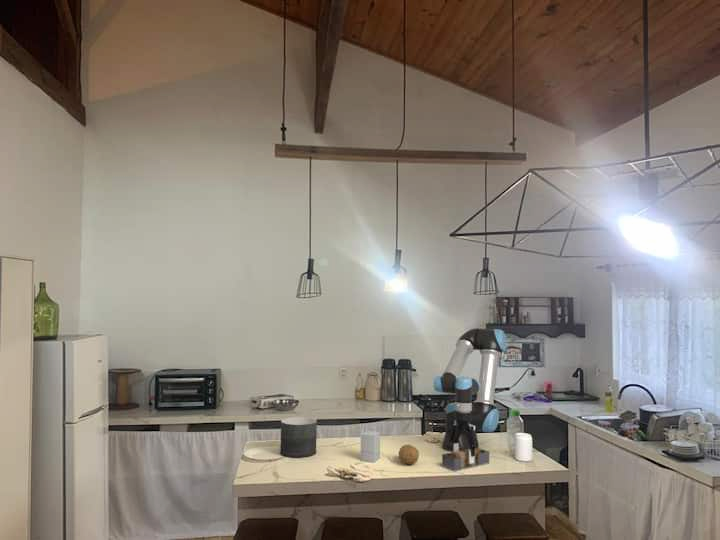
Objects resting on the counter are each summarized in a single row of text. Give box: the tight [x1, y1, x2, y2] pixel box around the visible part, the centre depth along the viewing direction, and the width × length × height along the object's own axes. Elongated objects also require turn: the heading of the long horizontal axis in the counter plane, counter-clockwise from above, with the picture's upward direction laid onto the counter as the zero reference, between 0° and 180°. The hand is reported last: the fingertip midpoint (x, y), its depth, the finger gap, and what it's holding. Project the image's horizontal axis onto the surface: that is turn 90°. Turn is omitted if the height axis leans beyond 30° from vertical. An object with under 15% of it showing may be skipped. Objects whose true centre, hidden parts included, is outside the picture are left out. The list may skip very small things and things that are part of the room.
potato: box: [398, 444, 420, 465], centre depth 249 cm, size 10×14×8 cm
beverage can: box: [514, 432, 533, 463], centre depth 256 cm, size 8×8×12 cm
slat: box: [449, 448, 482, 467], centre depth 246 cm, size 16×4×6 cm, turn 124°
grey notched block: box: [441, 448, 490, 473], centre depth 247 cm, size 22×8×6 cm, turn 124°
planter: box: [280, 416, 318, 459], centre depth 264 cm, size 18×18×16 cm
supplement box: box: [360, 430, 381, 463], centre depth 254 cm, size 7×7×13 cm
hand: (463, 460), depth 246 cm, fingers open, 9 cm apart
